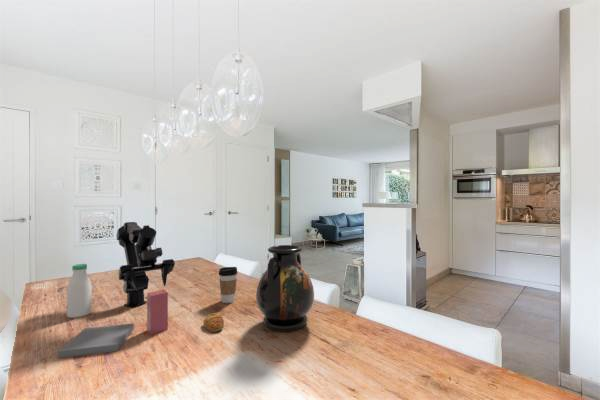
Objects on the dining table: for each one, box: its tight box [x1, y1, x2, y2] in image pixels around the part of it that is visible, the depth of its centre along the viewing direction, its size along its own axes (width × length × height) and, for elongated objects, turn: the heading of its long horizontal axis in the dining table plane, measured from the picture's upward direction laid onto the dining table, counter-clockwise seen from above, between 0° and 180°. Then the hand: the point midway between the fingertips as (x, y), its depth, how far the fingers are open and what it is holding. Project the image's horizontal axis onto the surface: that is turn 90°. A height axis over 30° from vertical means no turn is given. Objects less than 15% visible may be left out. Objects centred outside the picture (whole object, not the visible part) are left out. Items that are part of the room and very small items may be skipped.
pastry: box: [203, 312, 225, 333], centre depth 99 cm, size 9×7×4 cm
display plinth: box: [58, 323, 135, 359], centre depth 89 cm, size 15×15×2 cm
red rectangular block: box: [146, 289, 169, 336], centre depth 97 cm, size 4×6×13 cm
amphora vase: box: [255, 244, 315, 332], centre depth 102 cm, size 22×22×28 cm
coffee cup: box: [218, 266, 238, 304], centre depth 126 cm, size 8×8×15 cm
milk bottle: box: [66, 263, 93, 319], centre depth 111 cm, size 8×8×20 cm
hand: (151, 287), depth 103 cm, fingers open, 9 cm apart
